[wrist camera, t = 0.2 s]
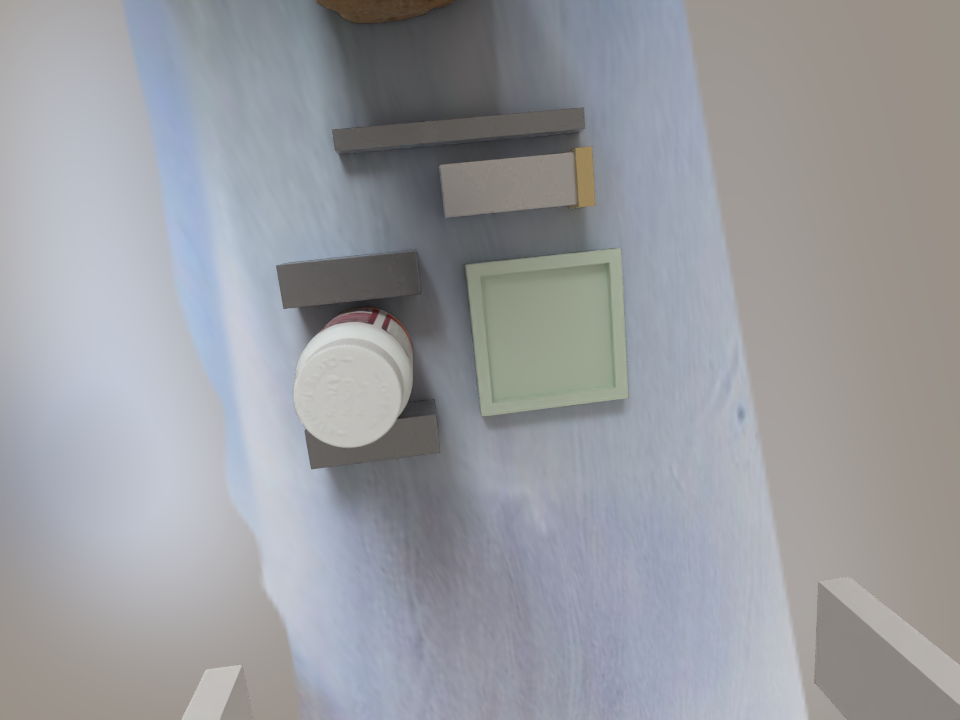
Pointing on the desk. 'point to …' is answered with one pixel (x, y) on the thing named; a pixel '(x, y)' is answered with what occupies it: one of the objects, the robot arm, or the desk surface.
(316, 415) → the pill bottle
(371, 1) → the block
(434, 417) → the socket
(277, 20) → the desk surface
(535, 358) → the tray
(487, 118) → the rail
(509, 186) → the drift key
